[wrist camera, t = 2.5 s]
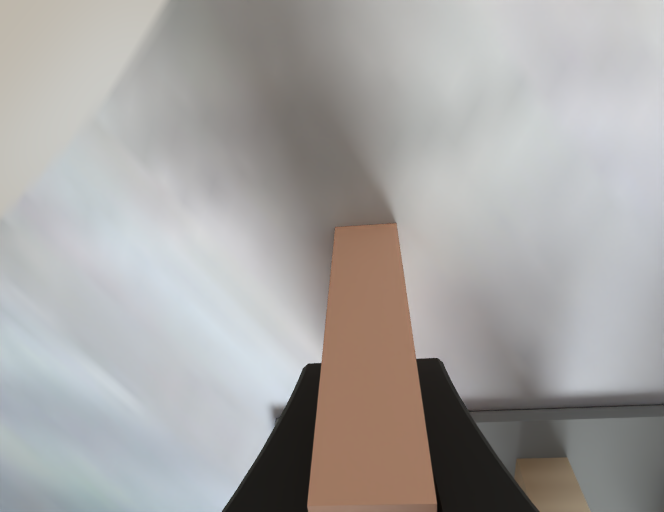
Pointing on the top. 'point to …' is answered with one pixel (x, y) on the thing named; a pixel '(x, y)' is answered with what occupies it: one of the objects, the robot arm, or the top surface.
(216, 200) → the top surface
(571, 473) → the light brown flat block
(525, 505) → the robot arm
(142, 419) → the top surface
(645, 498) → the slate mat
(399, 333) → the domino
